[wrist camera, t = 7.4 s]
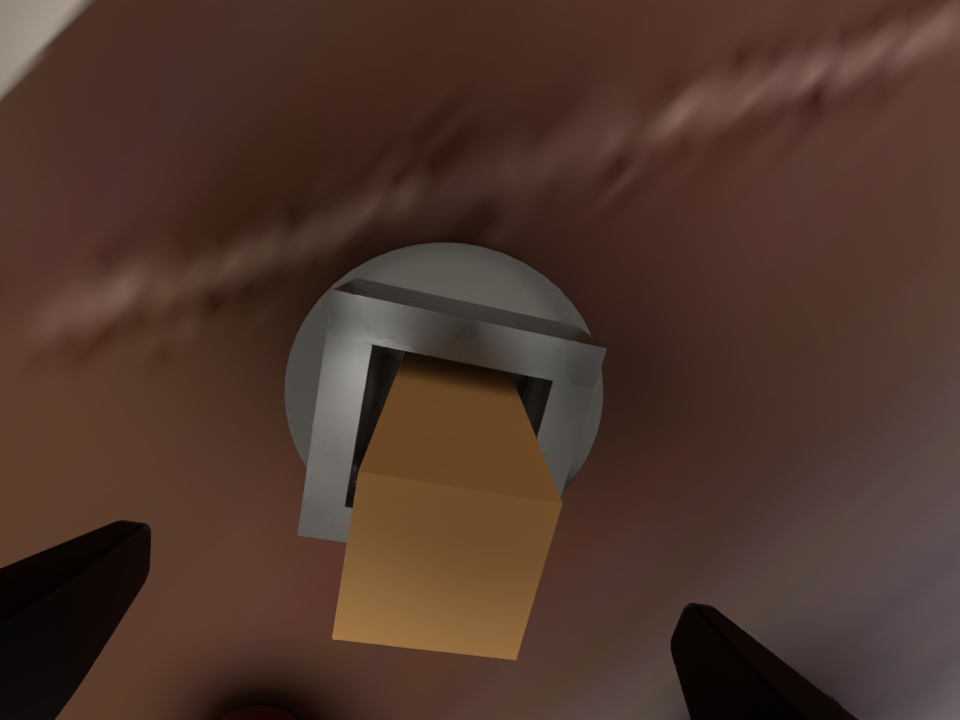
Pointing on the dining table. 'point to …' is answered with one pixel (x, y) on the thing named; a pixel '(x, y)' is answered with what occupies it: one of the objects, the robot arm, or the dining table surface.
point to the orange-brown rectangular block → (448, 516)
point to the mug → (260, 713)
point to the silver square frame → (439, 333)
